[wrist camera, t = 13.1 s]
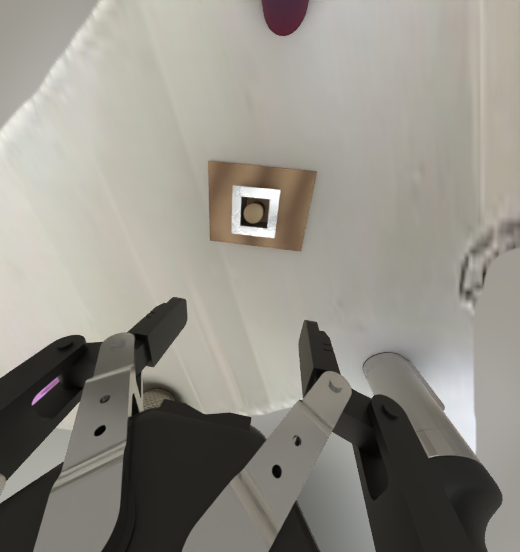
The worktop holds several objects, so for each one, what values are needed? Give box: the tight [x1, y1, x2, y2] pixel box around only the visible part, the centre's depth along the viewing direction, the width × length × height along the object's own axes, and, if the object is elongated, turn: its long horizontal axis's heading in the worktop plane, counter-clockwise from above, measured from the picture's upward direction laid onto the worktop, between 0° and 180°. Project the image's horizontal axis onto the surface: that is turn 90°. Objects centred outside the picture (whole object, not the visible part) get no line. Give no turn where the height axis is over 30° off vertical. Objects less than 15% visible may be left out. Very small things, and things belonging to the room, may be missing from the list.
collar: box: [232, 185, 281, 238], centre depth 27 cm, size 6×6×5 cm
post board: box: [208, 161, 317, 251], centre depth 27 cm, size 16×12×7 cm
